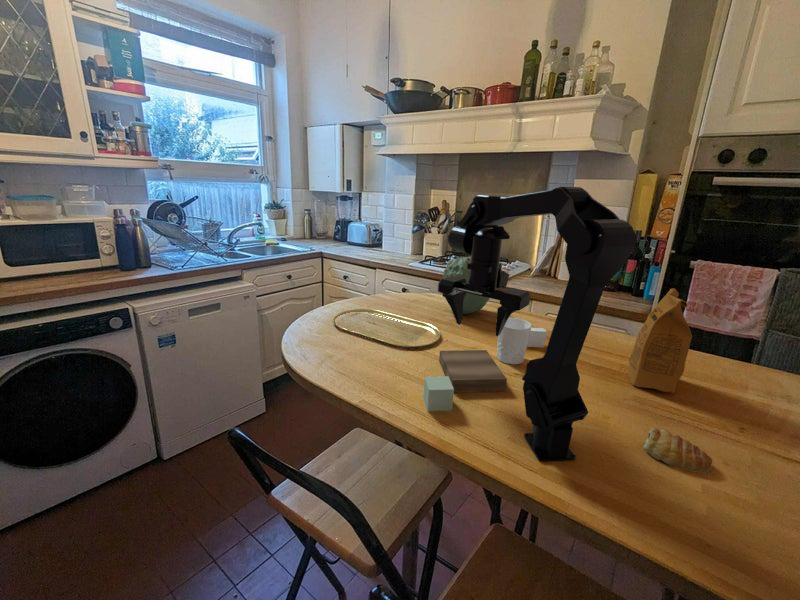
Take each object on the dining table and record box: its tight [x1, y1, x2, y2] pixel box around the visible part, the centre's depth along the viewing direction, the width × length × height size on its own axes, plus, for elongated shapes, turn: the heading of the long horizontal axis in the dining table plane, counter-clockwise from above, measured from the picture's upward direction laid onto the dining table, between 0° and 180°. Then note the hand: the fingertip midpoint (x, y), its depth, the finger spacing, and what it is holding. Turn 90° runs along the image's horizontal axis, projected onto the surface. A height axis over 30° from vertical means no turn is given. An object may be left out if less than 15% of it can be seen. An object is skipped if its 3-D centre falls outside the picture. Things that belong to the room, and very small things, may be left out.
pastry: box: [643, 426, 713, 474], centre depth 63 cm, size 9×7×4 cm
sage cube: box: [423, 375, 455, 412], centre depth 75 cm, size 5×5×5 cm
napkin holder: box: [527, 327, 547, 348], centre depth 104 cm, size 15×11×6 cm
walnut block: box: [438, 349, 508, 393], centre depth 87 cm, size 14×12×3 cm
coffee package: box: [627, 288, 693, 394], centre depth 85 cm, size 10×12×22 cm
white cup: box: [496, 317, 533, 365], centre depth 95 cm, size 8×8×10 cm
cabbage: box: [442, 255, 490, 315], centre depth 125 cm, size 16×19×20 cm
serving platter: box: [332, 308, 441, 350], centre depth 112 cm, size 19×35×2 cm, turn 58°
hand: (477, 329), depth 80 cm, fingers open, 9 cm apart
